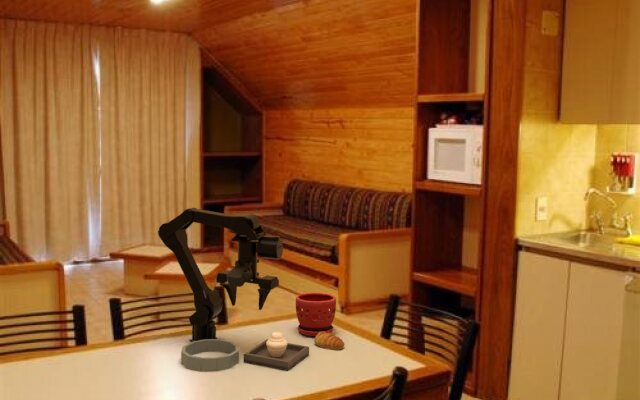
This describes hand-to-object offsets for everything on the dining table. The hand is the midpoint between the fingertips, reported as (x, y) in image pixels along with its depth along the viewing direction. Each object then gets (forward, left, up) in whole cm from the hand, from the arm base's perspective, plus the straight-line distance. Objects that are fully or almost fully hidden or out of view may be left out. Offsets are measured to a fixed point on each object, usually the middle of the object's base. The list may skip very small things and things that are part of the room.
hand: (246, 307), depth 198 cm
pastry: (+22, +13, -12) cm, 28 cm away
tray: (+13, -5, -12) cm, 18 cm away
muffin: (+13, -5, -11) cm, 18 cm away
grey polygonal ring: (-3, -15, -12) cm, 19 cm away
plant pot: (+13, +22, -12) cm, 28 cm away
